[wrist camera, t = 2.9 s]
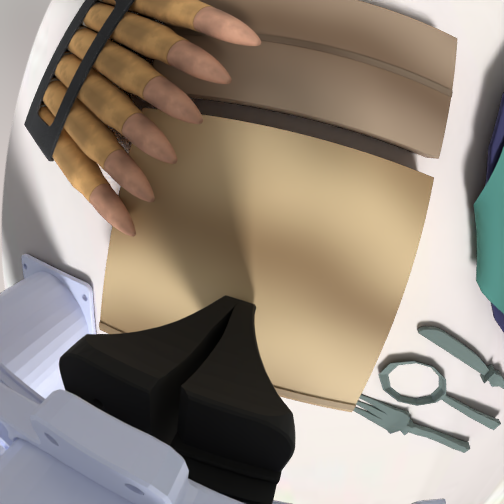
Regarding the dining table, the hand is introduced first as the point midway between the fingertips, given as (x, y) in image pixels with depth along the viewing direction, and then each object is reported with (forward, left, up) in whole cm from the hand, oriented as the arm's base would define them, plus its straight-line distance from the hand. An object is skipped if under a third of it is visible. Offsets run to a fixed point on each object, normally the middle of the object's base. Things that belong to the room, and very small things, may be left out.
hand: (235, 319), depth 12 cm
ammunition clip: (+11, +14, -3) cm, 18 cm away
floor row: (+11, 0, -4) cm, 12 cm away
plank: (+2, 0, -2) cm, 3 cm away
